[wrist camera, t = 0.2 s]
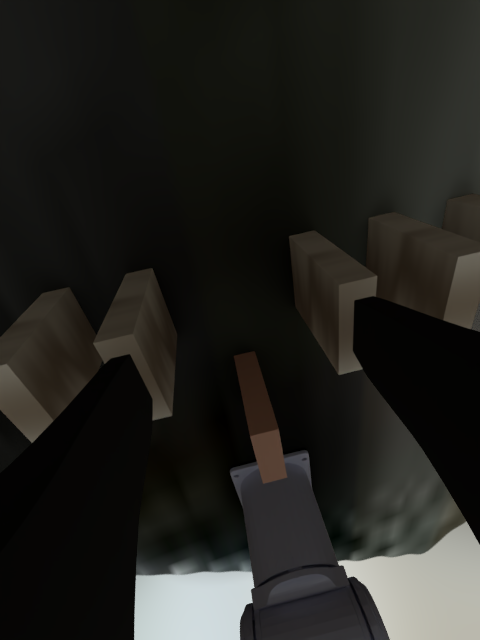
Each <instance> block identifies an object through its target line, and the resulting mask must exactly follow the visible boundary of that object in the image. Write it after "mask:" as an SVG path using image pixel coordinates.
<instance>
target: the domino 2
mask: <svg viewBox="0 0 480 640" xmlns="http://www.w3.org/2000/svg"><path fill="white" fill-rule="evenodd" d="M93 344H94V346H95V348H96V349H97V351H98V353H99V355H100V356H101V358H102V360H103V361H104V363H106V362H107V361H109V360H110V359H111V358H115V357H119V356H123V355H127V354H130V355H131V357H132V359H133V361H134V363H135V365H136V367H137V369H138V371H139V373H140V375H141V377H142V379H143V381H144V383H145V385H146V387H147V389H148V391H149V393H150V395H151V397H152V399H153V419H152V420H156V419H160V418H165V417H169V416H172V409H173V393H174V378H175V362H176V347H177V332H176V330H175V327H174V324H173V322H172V319H171V316H170V314H169V311H168V308H167V306H166V303H165V300H164V298H163V295H162V292H161V290H160V287H159V284H158V282H157V279H156V276H155V274H154V271H153V268H149V269H145V270H141V271H136V272H132V273H128V274H126V275H125V277H124V279H123V281H122V283H121V285H120V287H119V289H118V292H117V294H116V296H115V298H114V300H113V302H112V304H111V306H110V308H109V310H108V313H107V315H106V317H105V319H104V321H103V323H102V325H101V327H100V329H99V331H98V334H97V336H96V338H95V340H94V342H93Z"/></svg>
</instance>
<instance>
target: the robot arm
mask: <svg viewBox="0 0 480 640" xmlns="http://www.w3.org/2000/svg"><path fill="white" fill-rule="evenodd" d="M353 352H354V354H355V356H356V358H357V359H358V361H359V363H360V365H361V367H362V368H363V370H364V372H365V373H366V375H367V377H368V378H369V379H370V381H371V382H372V383H373V385H374V386H375V387H376V389H377V390H378V391H379V393H380V394H381V395H382V396H383V398H384V399H385V400H386V402H387V403H388V404H389V405H390V407H391V408H392V409H393V411H394V412H395V413H396V415H397V416H398V417H399V418H400V420H401V421H402V422H403V424H404V425H405V426H406V427H407V429H408V430H409V431H410V433H411V434H412V435H413V437H414V438H415V439H416V441H417V442H418V444H419V445H420V446H421V448H422V449H423V451H424V452H425V454H426V456H427V457H428V459H429V460H430V462H431V463H432V465H433V467H434V468H435V470H436V471H437V473H438V475H439V476H440V478H441V479H442V481H443V482H444V484H445V486H446V487H447V489H448V491H449V492H450V494H451V496H452V498H453V499H454V501H455V503H456V504H457V506H458V508H459V509H460V511H461V513H462V514H463V516H464V518H465V519H466V521H467V523H468V524H469V526H470V528H471V530H472V532H473V533H474V535H475V537H476V539H477V540H478V542H479V544H480V332H478V331H475V330H472V329H468V328H465V327H462V326H459V325H456V324H453V323H450V322H447V321H444V320H441V319H438V318H435V317H433V316H430V315H427V314H424V313H421V312H419V311H416V310H413V309H410V308H408V307H405V306H402V305H399V304H397V303H394V302H391V301H388V300H385V299H382V298H378V297H375V296H371V297H367V298H362V299H358V300H354V324H353ZM152 419H153V399H152V397H151V395H150V393H149V391H148V389H147V387H146V385H145V383H144V381H143V379H142V377H141V375H140V373H139V371H138V369H137V367H136V365H135V363H134V361H133V359H132V357H131V355H130V354H127V355H123V356H119V357H115V358H111V359H110V360H109V361H107V362H106V363H105V364H104V366H103V367H102V368H101V369H100V370H99V371H98V372H97V373H96V374H95V375H94V377H93V378H92V379H91V380H90V381H89V382H88V383H87V384H86V386H85V387H84V388H83V389H82V390H81V391H80V392H79V393H78V395H77V396H76V397H75V398H74V399H73V400H72V401H71V402H70V404H69V405H68V406H67V407H66V408H65V409H64V410H63V411H62V412H61V414H60V415H59V416H58V417H57V418H56V419H55V420H54V421H53V422H52V423H51V424H50V425H49V426H48V427H47V428H46V429H45V430H44V431H43V432H42V433H41V434H40V435H39V436H38V438H37V439H36V440H35V441H34V442H33V443H32V444H31V445H30V446H29V447H28V448H27V449H26V450H25V451H24V452H23V453H22V454H21V455H20V456H19V457H17V458H16V459H15V460H14V461H13V462H12V463H11V464H10V465H9V466H8V467H7V468H6V469H5V470H4V471H2V472H1V473H0V640H134V608H135V607H134V606H135V580H136V557H137V541H138V524H139V514H140V506H141V499H142V492H143V486H144V479H145V473H146V467H147V460H148V454H149V447H150V441H151V434H152ZM283 456H284V462H285V468H286V473H287V478H284V479H280V480H276V481H272V482H268V483H264V484H263V482H262V478H261V475H260V471H259V467H258V463H257V462H253V463H249V464H245V465H241V466H237V467H234V468H232V469H231V470H230V475H231V477H232V480H233V483H234V486H235V488H236V491H237V494H238V496H239V499H240V502H241V504H242V507H243V511H244V518H245V525H246V532H247V539H248V546H249V553H250V560H251V567H252V573H253V580H254V587H255V588H253V589H252V590H251V593H252V600H253V603H250V604H247V605H246V607H245V610H244V612H243V615H242V617H241V620H240V640H390V639H389V637H388V634H387V631H386V628H385V626H384V624H383V621H382V619H381V616H380V614H379V611H378V609H377V607H376V605H375V603H374V601H373V599H372V596H371V594H370V593H369V591H368V589H367V588H366V587H365V585H363V584H362V583H361V582H359V581H358V580H357V578H355V577H350V578H347V575H346V572H345V569H344V566H339V565H338V562H337V559H336V556H335V553H334V550H333V547H332V545H331V542H330V539H329V536H328V533H327V530H326V527H325V525H324V522H323V519H322V516H321V513H320V510H319V507H318V505H317V502H316V499H315V496H314V493H313V490H312V484H311V473H310V462H309V454H308V452H307V451H306V450H301V451H297V452H293V453H289V454H285V455H283Z"/></svg>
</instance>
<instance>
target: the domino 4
mask: <svg viewBox="0 0 480 640" xmlns="http://www.w3.org/2000/svg"><path fill="white" fill-rule="evenodd" d="M366 268H367V269H368V270H370V271H371V272H373V273H374V274H375V275H377V286H376V297H378V298H382V299H385V300H388V301H391V302H394V303H397V304H399V305H402V306H405V307H408V308H410V309H413V310H416V311H419V312H421V313H424V314H427V315H430V316H433V317H435V318H438V319H441V320H444V321H447V322H450V323H453V324H456V325H459V326H462V327H465V328H468V329H471V327H472V324H473V321H474V317H475V314H476V311H477V308H478V304H479V301H480V242H477V241H474V240H471V239H469V238H466V237H463V236H460V235H457V234H455V233H452V232H449V231H446V230H443V229H441V228H438V227H435V226H432V225H429V224H427V223H424V222H421V221H418V220H415V219H413V218H410V217H407V216H404V215H401V214H398V213H396V212H392V213H387V214H383V215H379V216H374V217H370V218H369V223H368V240H367V257H366Z"/></svg>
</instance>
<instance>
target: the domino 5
mask: <svg viewBox="0 0 480 640" xmlns="http://www.w3.org/2000/svg"><path fill="white" fill-rule="evenodd" d="M442 229H443V230H446V231H449V232H452V233H455V234H457V235H460V236H463V237H466V238H469V239H471V240H474V241H477V242H480V195H476V194H470V195H465V196H461V197H456V198H452V199H448V200H447V205H446V210H445V215H444V220H443V225H442Z"/></svg>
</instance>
